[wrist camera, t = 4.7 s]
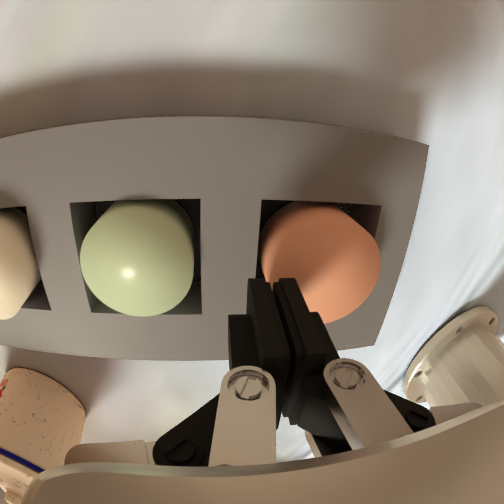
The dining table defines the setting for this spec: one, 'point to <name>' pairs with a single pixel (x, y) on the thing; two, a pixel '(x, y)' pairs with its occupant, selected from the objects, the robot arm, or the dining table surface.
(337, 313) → the terracotta button
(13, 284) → the cream button
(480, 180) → the dining table surface
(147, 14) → the dining table surface
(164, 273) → the sage button
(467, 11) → the dining table surface
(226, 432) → the robot arm
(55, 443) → the teacup with lid
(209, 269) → the button panel
